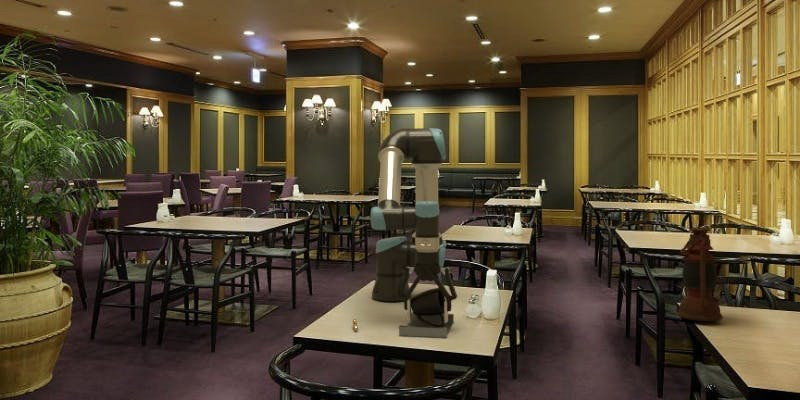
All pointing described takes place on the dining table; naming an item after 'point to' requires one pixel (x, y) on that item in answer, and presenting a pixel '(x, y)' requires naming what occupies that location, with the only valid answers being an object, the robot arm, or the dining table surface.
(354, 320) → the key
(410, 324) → the cradle
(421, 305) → the mug
